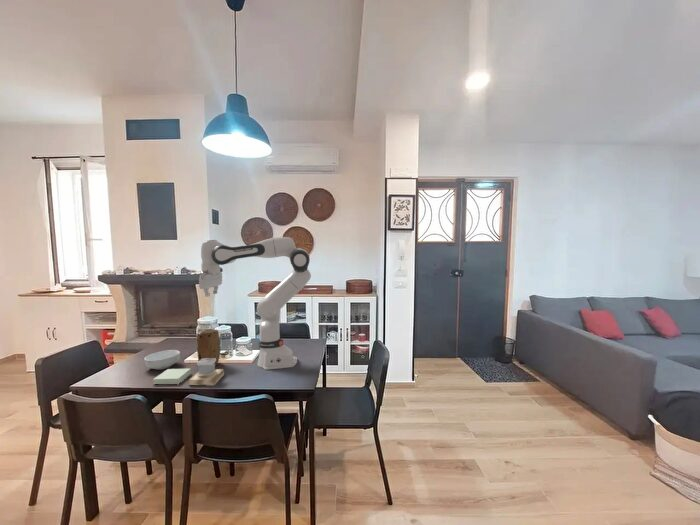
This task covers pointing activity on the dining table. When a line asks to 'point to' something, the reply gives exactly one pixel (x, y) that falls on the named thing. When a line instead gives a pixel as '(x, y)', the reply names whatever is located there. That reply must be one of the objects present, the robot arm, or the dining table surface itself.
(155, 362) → the cereal bowl
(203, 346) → the brown jar
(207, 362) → the housing
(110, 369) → the dining table surface
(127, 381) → the dining table surface
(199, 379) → the stand
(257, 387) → the dining table surface
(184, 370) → the stand
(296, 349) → the dining table surface
